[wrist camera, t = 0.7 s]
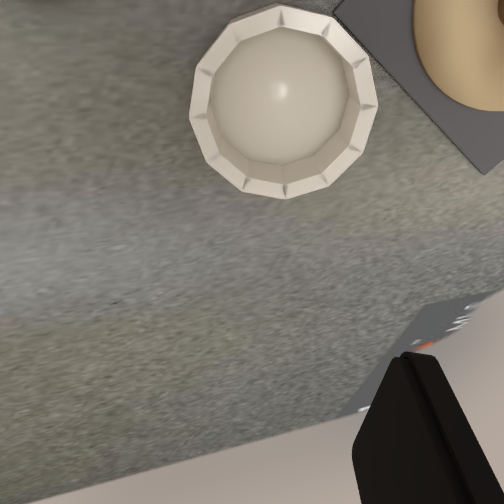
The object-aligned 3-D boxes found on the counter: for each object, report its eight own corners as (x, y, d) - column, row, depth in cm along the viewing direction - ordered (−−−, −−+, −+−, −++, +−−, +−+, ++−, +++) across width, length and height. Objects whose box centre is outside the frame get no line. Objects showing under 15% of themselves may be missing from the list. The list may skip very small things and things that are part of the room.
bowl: (274, -37, 29) (279, -40, 25) (392, 89, 32) (413, 103, 28) (165, 103, 32) (154, 119, 29) (281, 201, 36) (286, 228, 32)
